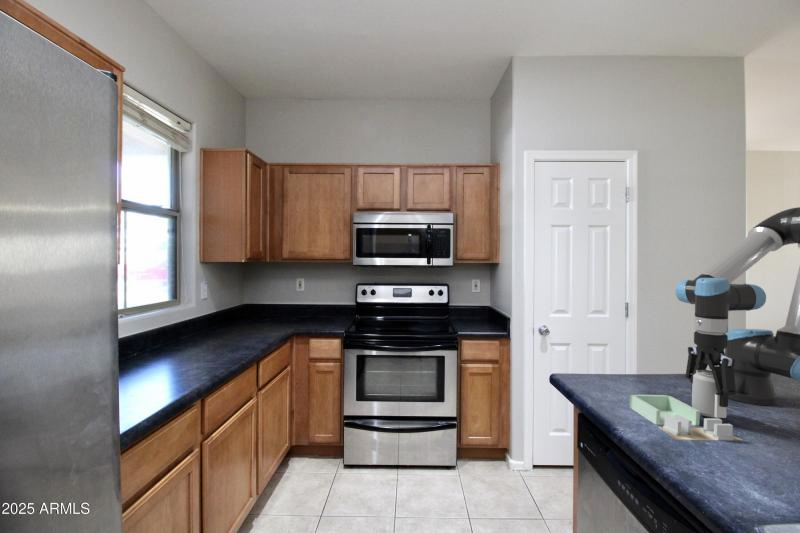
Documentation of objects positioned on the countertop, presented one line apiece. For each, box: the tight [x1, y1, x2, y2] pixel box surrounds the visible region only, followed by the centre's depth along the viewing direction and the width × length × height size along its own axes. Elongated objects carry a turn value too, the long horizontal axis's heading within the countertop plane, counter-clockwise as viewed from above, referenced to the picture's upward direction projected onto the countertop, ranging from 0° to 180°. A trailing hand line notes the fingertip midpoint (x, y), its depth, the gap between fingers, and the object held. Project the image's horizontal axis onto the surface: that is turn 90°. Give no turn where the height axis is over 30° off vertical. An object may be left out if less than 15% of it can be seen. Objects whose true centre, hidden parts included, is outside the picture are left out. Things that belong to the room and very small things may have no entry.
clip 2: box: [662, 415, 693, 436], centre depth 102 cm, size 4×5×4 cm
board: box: [657, 426, 744, 442], centre depth 102 cm, size 17×7×1 cm, turn 91°
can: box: [691, 369, 723, 419], centre depth 112 cm, size 8×8×12 cm
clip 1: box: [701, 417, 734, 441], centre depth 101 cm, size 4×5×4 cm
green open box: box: [629, 394, 701, 426], centre depth 112 cm, size 12×12×4 cm
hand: (708, 410), depth 112 cm, fingers closed on can, 7 cm apart
